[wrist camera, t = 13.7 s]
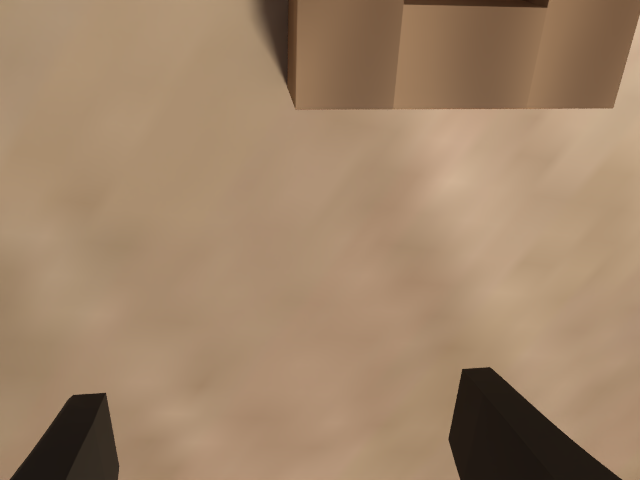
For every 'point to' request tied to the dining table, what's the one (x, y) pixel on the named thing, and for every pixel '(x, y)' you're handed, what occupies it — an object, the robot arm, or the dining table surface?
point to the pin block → (458, 53)
